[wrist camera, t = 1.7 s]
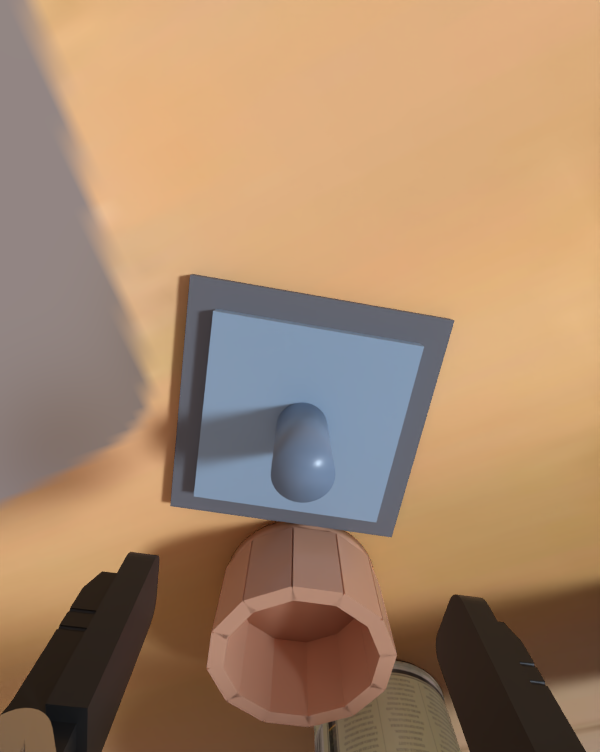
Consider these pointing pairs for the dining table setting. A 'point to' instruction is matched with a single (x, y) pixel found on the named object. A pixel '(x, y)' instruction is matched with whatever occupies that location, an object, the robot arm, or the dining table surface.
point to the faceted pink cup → (300, 627)
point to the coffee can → (395, 719)
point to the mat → (309, 311)
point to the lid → (302, 415)
